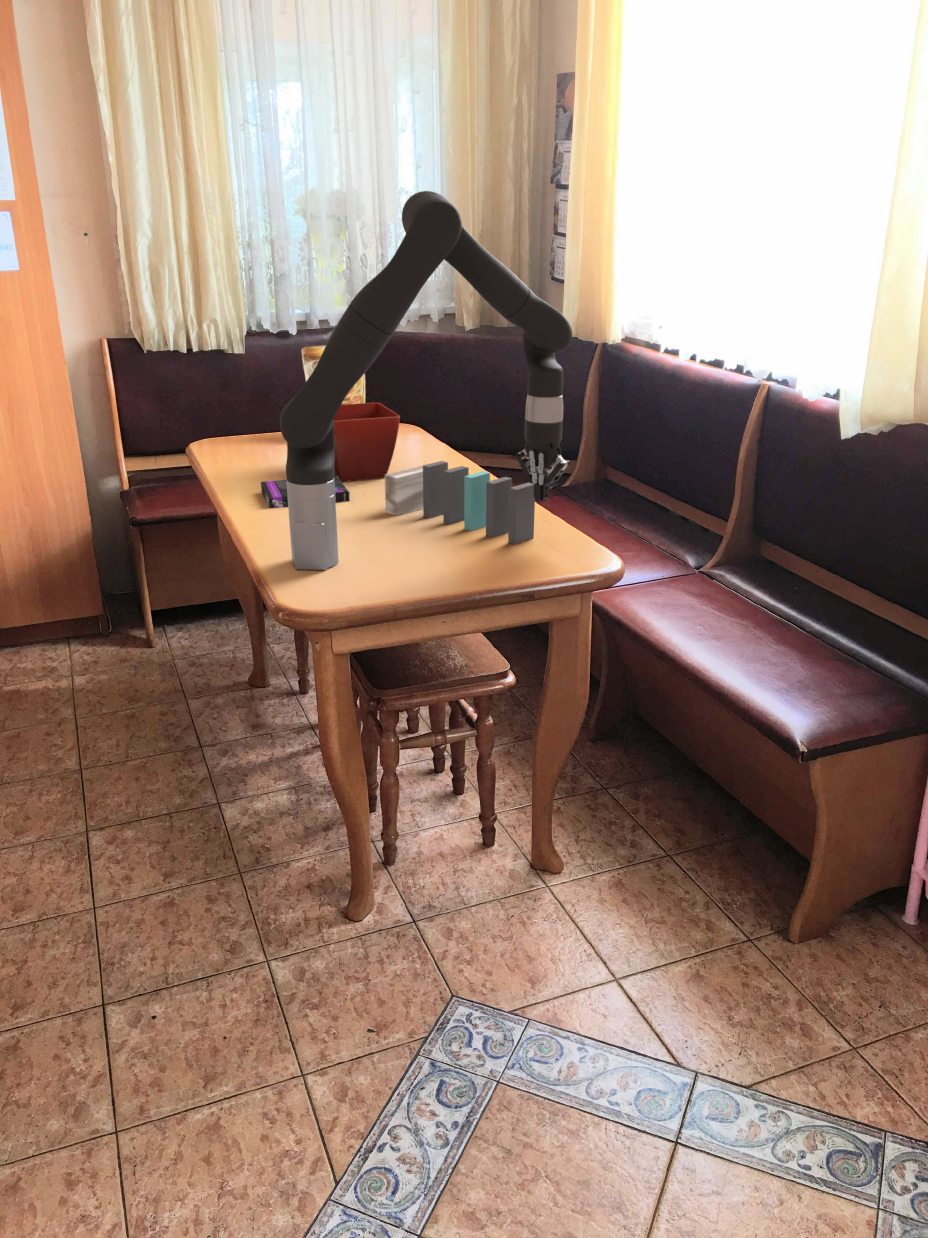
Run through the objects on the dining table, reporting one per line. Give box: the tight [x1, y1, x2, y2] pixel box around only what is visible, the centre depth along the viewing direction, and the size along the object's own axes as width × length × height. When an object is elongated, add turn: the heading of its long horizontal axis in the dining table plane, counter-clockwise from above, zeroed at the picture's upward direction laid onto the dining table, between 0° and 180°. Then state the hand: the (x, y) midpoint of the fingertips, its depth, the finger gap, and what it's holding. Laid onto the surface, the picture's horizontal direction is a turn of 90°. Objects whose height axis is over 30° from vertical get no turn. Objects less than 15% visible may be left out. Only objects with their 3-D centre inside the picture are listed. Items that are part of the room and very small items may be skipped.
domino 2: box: [443, 465, 470, 525], centre depth 217 cm, size 2×6×12 cm, turn 136°
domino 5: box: [507, 482, 536, 546], centre depth 205 cm, size 2×6×12 cm, turn 136°
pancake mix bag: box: [300, 344, 366, 405], centre depth 285 cm, size 7×19×28 cm, turn 111°
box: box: [260, 476, 351, 509], centre depth 236 cm, size 14×4×20 cm
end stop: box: [384, 463, 428, 517], centre depth 227 cm, size 4×14×9 cm, turn 136°
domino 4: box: [485, 476, 513, 539], centre depth 209 cm, size 2×6×12 cm, turn 136°
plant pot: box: [334, 402, 401, 483], centre depth 252 cm, size 19×19×17 cm
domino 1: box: [422, 460, 449, 519], centre depth 221 cm, size 2×6×12 cm, turn 136°
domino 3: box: [463, 470, 491, 532], centre depth 213 cm, size 2×6×12 cm, turn 136°
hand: (540, 500), depth 200 cm, fingers closed
